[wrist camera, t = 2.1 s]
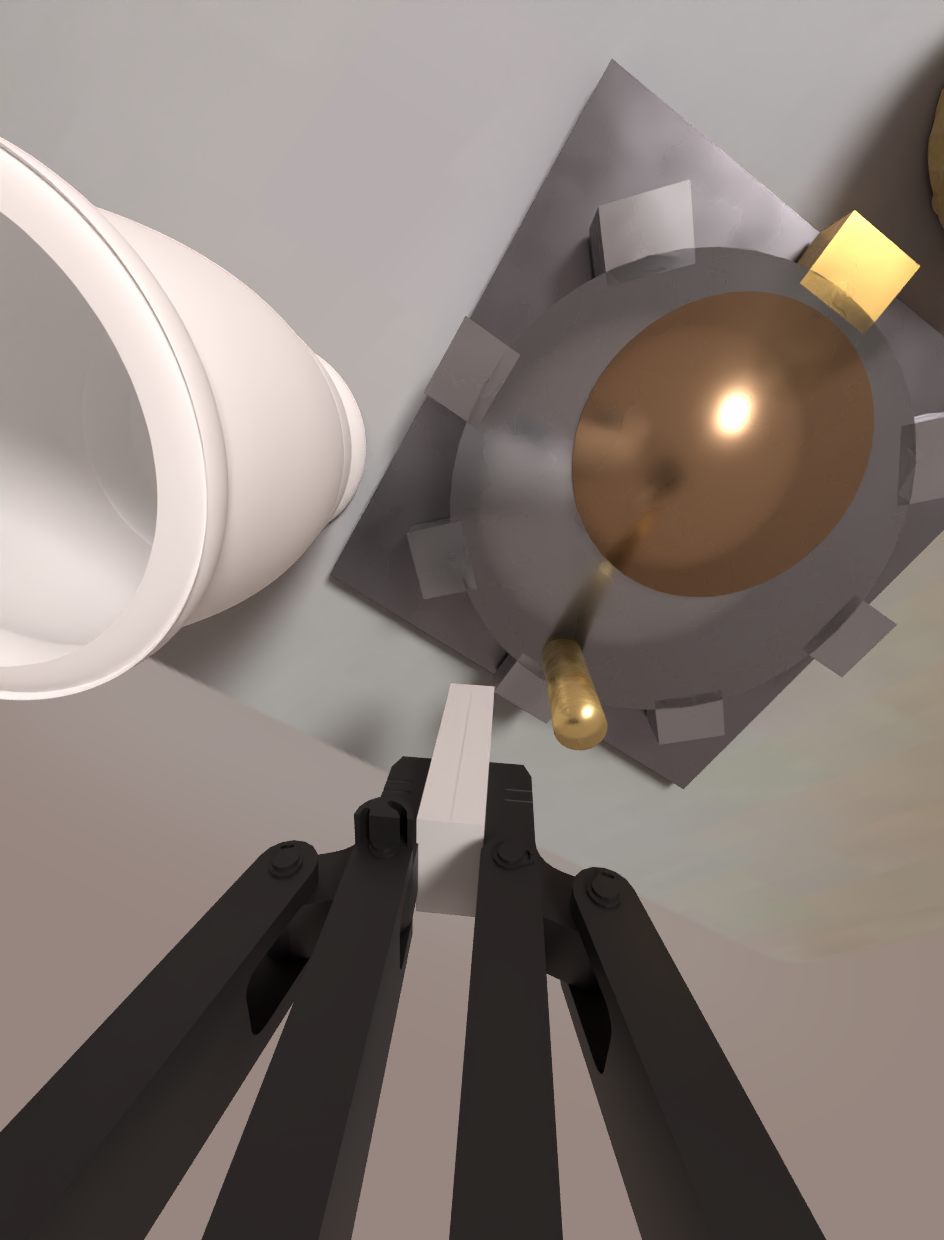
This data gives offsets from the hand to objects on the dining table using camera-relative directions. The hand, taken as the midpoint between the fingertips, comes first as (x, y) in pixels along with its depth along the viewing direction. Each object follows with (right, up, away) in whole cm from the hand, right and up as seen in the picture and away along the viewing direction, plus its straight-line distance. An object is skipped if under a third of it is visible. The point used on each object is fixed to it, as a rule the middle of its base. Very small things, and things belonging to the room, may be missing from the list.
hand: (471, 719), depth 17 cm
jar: (-9, +12, +6) cm, 16 cm away
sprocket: (+8, +8, +5) cm, 13 cm away
